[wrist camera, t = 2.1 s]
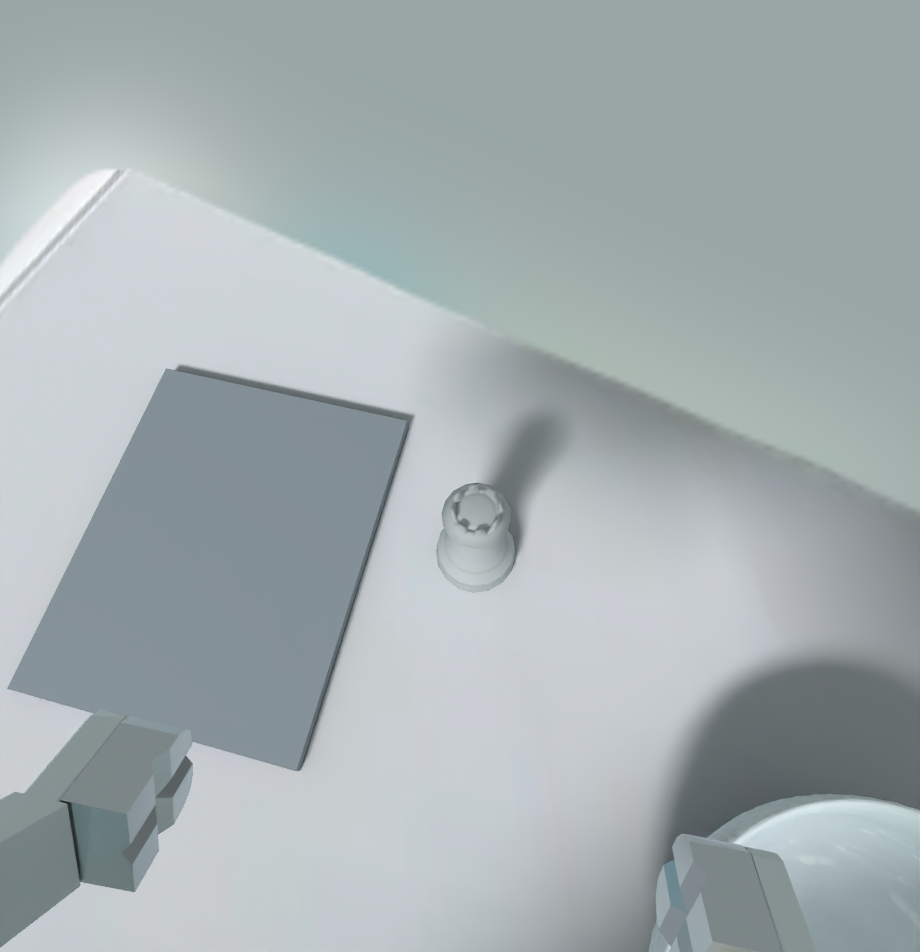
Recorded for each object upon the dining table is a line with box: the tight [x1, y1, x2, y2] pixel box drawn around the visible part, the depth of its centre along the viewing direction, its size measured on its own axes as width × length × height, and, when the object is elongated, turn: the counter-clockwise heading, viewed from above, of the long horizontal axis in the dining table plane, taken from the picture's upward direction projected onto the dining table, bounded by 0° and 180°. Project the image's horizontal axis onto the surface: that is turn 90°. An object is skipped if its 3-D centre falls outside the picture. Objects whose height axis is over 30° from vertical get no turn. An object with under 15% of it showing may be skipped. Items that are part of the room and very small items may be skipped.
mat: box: [7, 369, 408, 771], centre depth 36 cm, size 20×16×1 cm
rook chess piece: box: [436, 483, 515, 592], centre depth 32 cm, size 4×4×8 cm
